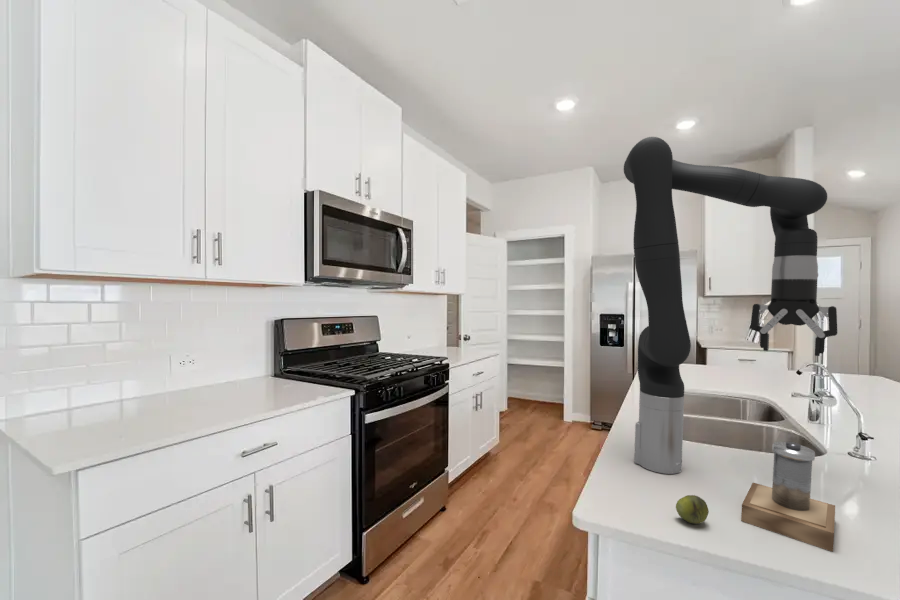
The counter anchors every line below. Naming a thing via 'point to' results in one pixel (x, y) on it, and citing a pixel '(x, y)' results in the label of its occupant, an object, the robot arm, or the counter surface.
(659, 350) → the robot arm
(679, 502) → the lime
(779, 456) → the grey lidded canister
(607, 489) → the counter surface
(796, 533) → the stand
